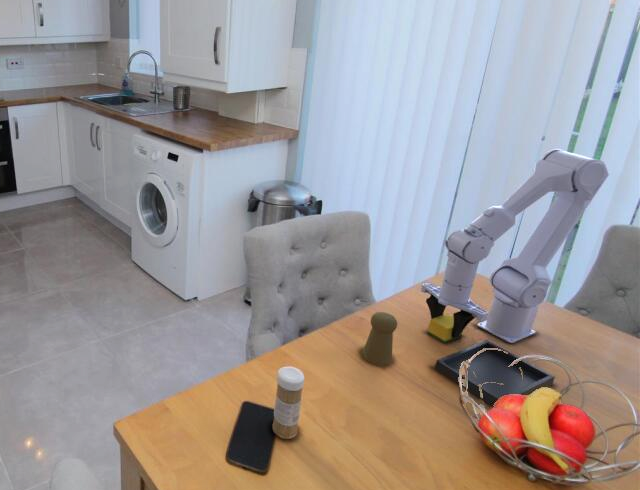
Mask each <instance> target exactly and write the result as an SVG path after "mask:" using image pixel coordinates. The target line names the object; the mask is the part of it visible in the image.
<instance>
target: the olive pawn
mask: <svg viewBox="0 0 640 490" xmlns="http://www.w3.org/2000/svg"><path fill="white" fill-rule="evenodd" d="M370 325H371V329H370V332H369V334H368V337H367V339H366V342H365V345H364V348H363V350H362V357H363V358H364V359H365V360H366V361H368V362H369V363H371V364H373V365H377V366H382V367H383V366H388V365H391V364H392V361H393V341H394V340H393V339H394V332H396V330H397V328H398V320H397V319H396V317H395V316H394V315H392V314H391V313H389V312H385V311H377V312H375V313H373V314H372V316H371V317H370Z"/></svg>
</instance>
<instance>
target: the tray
mask: <svg viewBox="0 0 640 490" xmlns="http://www.w3.org/2000/svg"><path fill="white" fill-rule="evenodd" d="M483 348H498V349H501V350H503V351H506V352H508V354H506V353H504V352H503V351H498V350H486V351H484V352H482V353H480V354H479V355H477V356H476V357H475V358H474V359H473V360H472V361H471V363H470V367H468V368H467V371H468V390H469V391H468V390H467V391H468V392H470V393H471V394H473V395H475V396H476V397H477V398H479V399H481V398H480V391H479V386H478V385H479V384H481V385H482V384H483V383H485V382H489V383H486V384H483V385H482V387H481V389H482V393H483V400H482V401H484V402H485V403H487V404H488V405H489V406H491V407H493V405H494V403H495V402H496V401H497V400H498V399H499V398H500V397H502V396H504V395H509V394H521V395H529V394H531V393H532V392H533V391H535V390H536V389H539V388H541V387H548V388H550V387H552V386H553V384H554V381H555V378H556V376H555V375H553V374H551V373H549V372H547V371H546V370H543V369H542V368H540V367H538V366H536V365H534V364H532V363H531V362H529V361H527V360H524V359H523V360H521V361H519V362H518V363H517V364H514V365H513V366H510V367H508V366H509V365H510V364H511V363H512V362H513V361H514V360H516V359H518V358H520V356H517V355H516V354H514V353H512V352H510V351H508V350H506V349H504V348H502V347H501V346H499V345H497V344H495V343H494V342H492V341H490V340H487V339H485V340H483V341H480V342H478V343H476V344H473V345H470V346H468V347H466V348H463V349H461V350H458V351H456V352H454V353H452V354H449V355H446V356H444V357H441V358H439V359H437V360H435V366H434V370H436V371H437V372H439V373H440V374H442V375H443V376H445V377H447V378H448V379H449V380H451V381H453V382H454V383H455V384H457V385H459V382H458V377H459V369H460V366H461V363H462V362H463V361H466V360H468V359H470V358H471V357H472V356H473V355H474V354H476V353H477V352H478V351H480V350H482V349H483ZM519 367H521V369H522V371H523V379H522V375H521V371H520V369H519ZM473 371H474V372H475V374H476V377H477V378H476V377H475V375H474V373H473ZM462 379H465V375H462ZM490 382H496V383H490ZM497 383H503V384H504V385H500V384H497ZM462 384H463V383H462Z"/></svg>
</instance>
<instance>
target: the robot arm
mask: <svg viewBox="0 0 640 490" xmlns="http://www.w3.org/2000/svg"><path fill="white" fill-rule="evenodd" d="M533 167H534V168H533V173H532V174H531V175H530V176H529V177H528V178H527V179H526V180H525V181H524V182H523V183H522V184H521V185H520V186H519V187H518V188H517V189H516V190H515V191H514V192H513V193H512V194H511V195H510V196H509V197H508V198H507V199H505V201H504V202H503V203H502V204H501V205H493V206H490V207H488V208H487V209H485V210H484V211H483V212H482V213H481V214H480V215H479V216H477V218H476V219H474V220H473V221H472V222H471V223H470V224H468V225H467V226H466V227H465V228H464V229H459V230H455V231H453V232H452V233H450V235H449V236H448V238H447V239H445V241H444V246H445V248H446V249H447V253H446V256H447V262H446V266H445V271H444V273H443V277H442V282H441V286H438V285H434V284H432V283H429V282H426V283H422V284H421V288H420V292H422V293H423V294H426V293H427V294H429V295H430V296H429V297H427V298H426V299H425V303H426V304H427V307H428V310H429V313H430V320H431V319H433V318H436V317H438V316H441V315H444V314H445V310H446V308H447V306H448V307H449V306H450V307H452V308H455V309H458V310H459V311H456V312H453V314H452V316H454V325H453V329H452V336H451V337H453V338H456V337H459V336H460V334H461V333H462V331H463V332H464V329H466V327H467V326H469V324H470V323H471V322H472V321H473V320H475V319H476V320H477V321H478V322H479V323H477V324H476V326H477V327H478V328H480V329H482V330H483V331H486V332H488V333H489V334H492V335H493V336H496V337H498V338H499V339H501V340H503V341H505V342H507V343H509V344H513V343H516V342H519V341H521V340H524V339H525V338H527V337H530V336H532V335H535V334H536V330H534V329H533V327H534V326H533V325H534V323H535V320H536V318H537V314H538V310H539V305H540V304H542V303H543V302H544V301H545V300H546V297H547V295H548V289H549V288H550V287H551V286H550V285H551V284H552V279H551V277H550V275H549V273H548V271H547V267H548V266H549V264H550V263H551V261H552V260H553V258H554V257H555V255H556V254H557V252H558V251H559V250H560V248H561V246H562V245H563V243H565V241H566V239H567V238H568V236H570V234H571V232H572V230H573V229H574V227H575V226H576V225H577V223H578V221H579V220H580V218H581V217H582V216H583V214H584V213H585V211H586V209H588V207H589V206H590V204H591V202H592V201H593V199H594V198H595V196H596V195H597V194H598V192H599V191H600V189H601V188H602V186H603V184H604V183H605V182H606V180H607V178H608V177H609V176H610V174H609V171H608V169H607V168H608V167H607V165H606V163H605V162H604V161H603V160H601V159H598V158H591V157H588V156H585V155H581V154H576V153H573V152H570V151H566V150H564V149H561V148H554V149H551V150H549V151H547V152H546V153H545V154H543V156H542V157H541V158H540V159H539V160H537V161H536V162H535V163H534V166H533ZM553 192H555V194H556V197H555V199H554V200H553V202H552V203H551V205H550V207H549V208H548V210H547V211H546V212H545V214H544V215H543V217H542V219H541V220H540V222H539V223H538V225H537V227H536V228H535V229H534V231H533V233H532V235H531V236H530V237H529V239H528V240H527V242H526V244H525V245H524V247H523V248H522V250H521V251H520V252H519V254H518V256H517V257H511V258H506V259H504V260H503V261H502V263H501V264H500V265H499V266H498V267H497V268H496V269H494V270H493V272H492V273H491V275H490V277H489V283H490V285H491V286H492V287H493V289H492V292H493V293H494V295H493V298H492V302H491V305H490V308H489V311H487V310H485V309H483V308H482V307H480V306H479V305H477V303H475V302H474V301H472V299H470V298H471V293H472V290H473V286H474V284H475V283H474V282H475V279H476V275H477V271H478V268H479V264H480V262H481V261H483V260H484V259H486V258H487V257H488V256H489V255H490V253H491V250H492V248H493V247H494V246H495V242H496V241H497V240H498V239H499V238H501V237H502V236H503V235H505V233H507V232H508V231H509V230H511V228H513V227H514V226H515V225H516V216H518V215H520V214H521V213H522V212H523V211H525V210H526V209H528V208H529V207H530V206H531V205H533V204H534V203H536V202H537V201H539V200H540V199H541V198H543V197H544V196H546V195H547V194H548V193H553ZM462 334H463V333H462ZM459 338H460V337H459ZM456 339H457V338H456Z"/></svg>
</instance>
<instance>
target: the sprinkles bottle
mask: <svg viewBox="0 0 640 490" xmlns="http://www.w3.org/2000/svg"><path fill="white" fill-rule="evenodd" d="M276 382H277V385H276V386H277V387H276V393H275V394H276V395H275V401H274V410H273V423H272V427H271V428H272V431H273V433H274V434H275V435H276V436H277V437H279V438H281V439H283V440H291V439H294V438H295V437H296V436H297V434H298V423H299V418H300V412H301V404H302V392H303V388H304V386H305V385H304V384H305V374H304V373H303V371H302V370H300V368H297V367H294V366H289V365H288V366H283V367H280V368H279V369H278V371H277V375H276Z"/></svg>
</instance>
